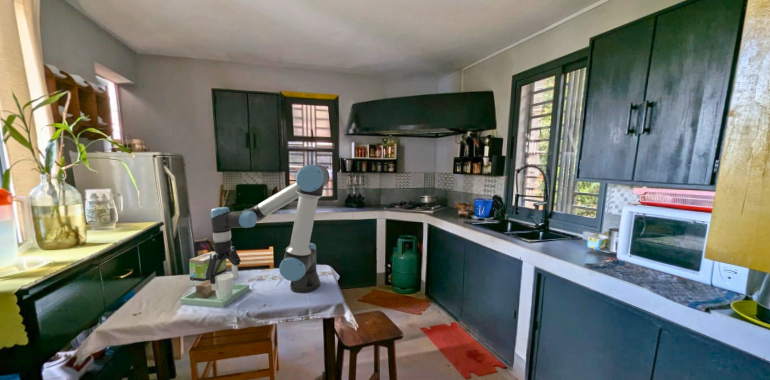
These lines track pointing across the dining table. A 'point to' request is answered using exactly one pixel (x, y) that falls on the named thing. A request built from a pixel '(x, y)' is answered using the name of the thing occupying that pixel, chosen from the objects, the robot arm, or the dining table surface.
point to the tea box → (203, 268)
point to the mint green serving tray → (215, 297)
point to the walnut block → (204, 290)
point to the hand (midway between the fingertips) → (225, 283)
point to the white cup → (224, 286)
